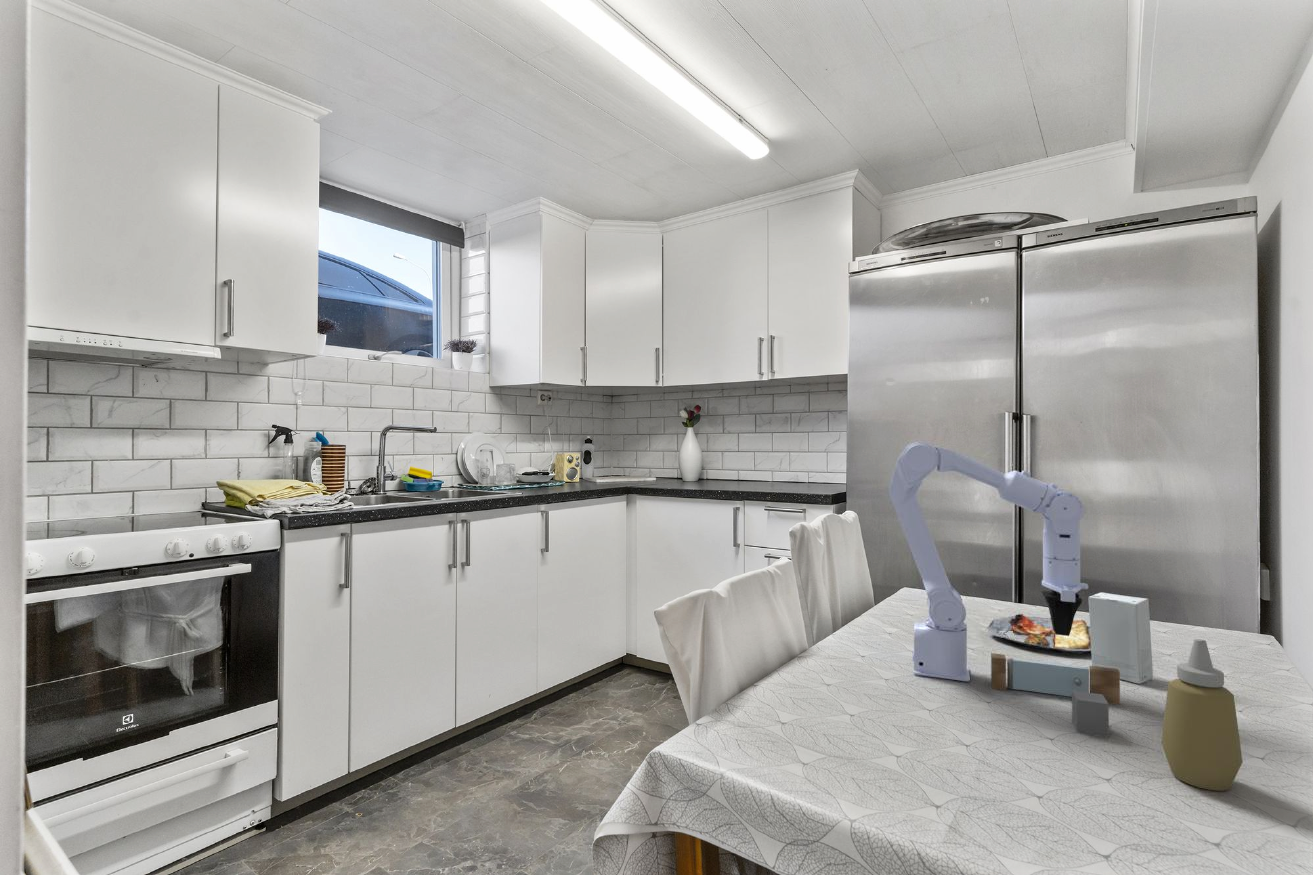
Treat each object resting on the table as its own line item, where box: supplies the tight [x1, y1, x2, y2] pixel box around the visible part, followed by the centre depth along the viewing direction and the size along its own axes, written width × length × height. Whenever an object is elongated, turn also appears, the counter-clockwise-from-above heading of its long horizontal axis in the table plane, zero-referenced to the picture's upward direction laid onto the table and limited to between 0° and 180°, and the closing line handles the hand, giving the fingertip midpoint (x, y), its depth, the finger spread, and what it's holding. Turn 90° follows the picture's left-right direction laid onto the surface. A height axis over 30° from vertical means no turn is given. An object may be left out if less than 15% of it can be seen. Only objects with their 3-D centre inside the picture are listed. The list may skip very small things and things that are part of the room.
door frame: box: [990, 652, 1121, 706], centre depth 113 cm, size 19×2×6 cm, turn 66°
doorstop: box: [1071, 691, 1110, 738], centre depth 99 cm, size 4×4×5 cm
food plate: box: [986, 613, 1091, 655], centre depth 145 cm, size 25×23×4 cm
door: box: [1006, 657, 1090, 698], centre depth 113 cm, size 12×2×5 cm, turn 66°
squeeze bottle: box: [1160, 638, 1244, 792], centre depth 84 cm, size 8×8×18 cm
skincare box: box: [1088, 591, 1154, 685], centre depth 123 cm, size 8×6×15 cm
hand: (1061, 633), depth 117 cm, fingers closed
